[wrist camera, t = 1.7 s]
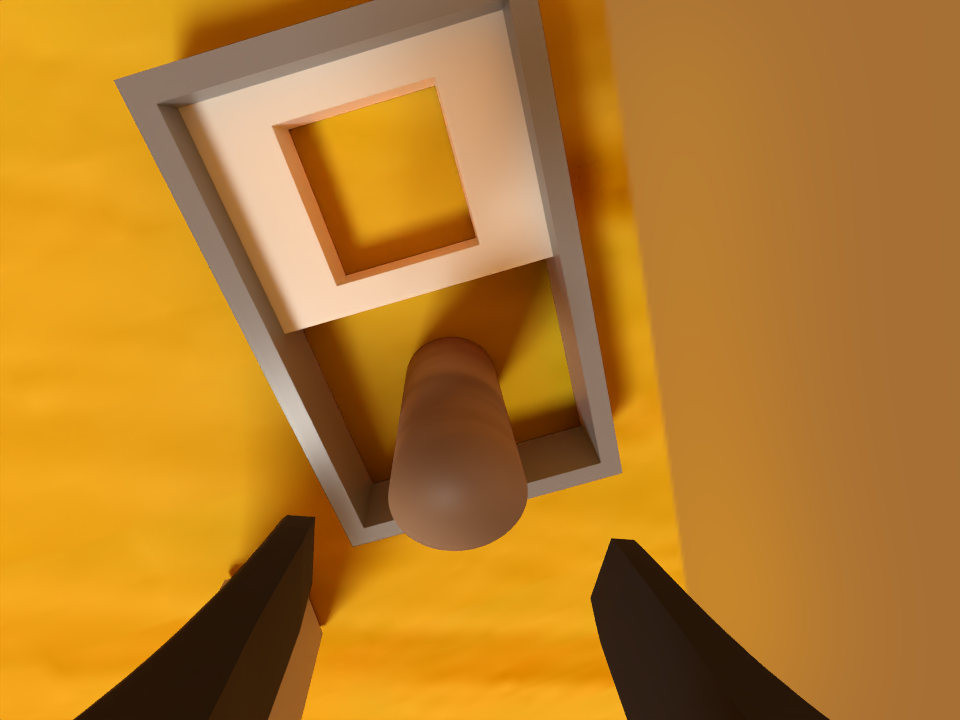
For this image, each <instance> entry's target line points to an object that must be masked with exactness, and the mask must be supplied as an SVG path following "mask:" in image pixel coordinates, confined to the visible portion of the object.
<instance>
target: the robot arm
mask: <svg viewBox="0 0 960 720" xmlns="http://www.w3.org/2000/svg"><path fill="white" fill-rule="evenodd" d="M314 527H315V517H306V516H292V515H287V516H286V517H284V518H283V519H282V520H281V521H280V522H279V523H278V525H277V526H276V527H275V529H274V530H273V531H272V532H271V533H270V535H269V536H268V537H267V538H266V540H265V541H264V542H263V543H262V544H261V545H260V547H259V548H258V549H257V550H256V551H255V552H254V553H253V555H252V556H251V557H250V558H249V559H248V560H247V561H246V563H245V564H244V565H243V566H242V567H241V568H240V569H239V570H238V571H237V572H236V573H235V574H234V576H233V577H232V578H231V579H230V580H229V581H228V582H227V583H226V584H225V585H224V586H223V587H222V588H221V589H220V591H219V592H218V593H217V594H216V595H215V596H214V597H213V598H212V599H211V600H210V601H209V602H208V603H207V604H206V605H205V606H204V607H202V608H201V609H200V610H199V611H198V612H197V613H196V614H195V615H194V616H193V617H192V618H191V619H190V620H189V621H188V622H187V623H186V624H185V625H184V626H183V627H182V628H181V629H180V630H179V631H178V632H177V633H176V634H175V635H174V636H172V637H171V638H170V639H169V640H168V641H167V642H166V643H165V644H164V645H163V646H161V647H160V648H159V649H158V650H157V651H156V652H155V653H154V654H153V655H151V656H150V657H149V658H148V659H147V660H146V661H144V662H143V663H142V664H141V665H140V666H139V667H138V668H136V669H135V670H134V671H133V672H132V673H131V674H129V675H128V676H127V677H126V678H125V679H123V680H122V681H121V682H120V683H119V684H117V685H116V686H115V687H114V688H112V689H111V690H110V691H109V692H107V693H106V694H105V695H104V696H102V697H101V698H100V699H99V700H97V701H96V702H95V703H94V704H93V705H91V706H90V707H89V708H88V709H86V710H85V711H84V712H83V713H81V714H80V715H79V716H77V717H76V718H75V719H74V720H268V718H269V716H270V713H271V710H272V707H273V705H274V702H275V699H276V696H277V694H278V691H279V688H280V685H281V683H282V680H283V677H284V674H285V672H286V669H287V666H288V663H289V660H290V658H291V655H292V652H293V649H294V646H295V644H296V641H297V638H298V635H299V632H300V629H301V625H302V621H303V618H304V614H305V610H306V606H307V602H308V598H309V594H310V590H311V586H312V573H313V550H314ZM591 602H592V607H593V612H594V617H595V622H596V626H597V630H598V634H599V638H600V642H601V645H602V648H603V651H604V654H605V657H606V660H607V663H608V666H609V669H610V672H611V675H612V678H613V680H614V683H615V686H616V689H617V692H618V695H619V697H620V700H621V703H622V706H623V709H624V712H625V714H626V717H627V720H829V719H828V718H827V717H825V716H824V715H823V714H821V713H820V712H819V711H818V710H816V709H815V708H814V707H813V706H811V705H810V704H809V703H807V702H806V701H805V700H804V699H802V698H801V697H800V696H799V695H797V694H796V693H795V692H794V691H793V690H791V689H790V688H789V687H788V686H786V685H785V684H784V683H783V682H782V681H781V680H779V679H778V678H777V677H776V676H774V675H773V674H772V673H771V672H770V671H768V670H767V669H766V668H765V667H763V666H762V664H760V663H759V662H758V661H757V660H756V659H755V658H754V657H752V656H751V655H750V654H749V653H748V652H747V651H746V650H745V649H744V648H743V647H742V646H740V645H739V644H738V643H737V642H736V641H735V640H734V639H733V638H732V637H731V636H729V635H728V634H727V633H726V632H725V631H724V630H723V629H722V628H721V627H720V626H719V625H718V624H717V623H716V622H715V621H714V620H713V619H712V618H711V617H710V616H709V615H707V613H706V612H705V611H704V610H703V609H702V608H701V607H700V606H699V605H698V604H696V602H695V601H694V600H693V599H692V598H691V597H690V596H689V595H688V594H687V593H686V592H685V591H684V590H683V589H682V588H681V587H680V586H679V585H678V584H677V583H676V582H675V581H674V580H673V579H672V578H671V577H670V576H669V575H668V574H667V573H666V572H665V571H664V570H663V568H662V567H661V566H660V565H659V564H658V563H657V562H656V561H655V560H654V559H653V558H652V557H651V556H650V555H649V554H648V553H647V552H646V551H645V550H644V549H643V548H642V547H641V546H640V545H639V544H638V543H637V542H636V541H635V540H627V539H613V538H611V541H610V544H609V547H608V549H607V552H606V555H605V558H604V561H603V564H602V567H601V569H600V572H599V575H598V578H597V581H596V584H595V587H594V589H593V592H592V595H591Z"/></svg>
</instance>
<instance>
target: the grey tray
mask: <svg viewBox="0 0 960 720" xmlns="http://www.w3.org/2000/svg"><path fill="white" fill-rule="evenodd" d="M114 82H115V84H116V86H117V88H118V89H119V91H120V93H121V95H122V97H123V99H124V101H125V103H126V105H127V107H128V109H129V111H130V113H131V115H132V117H133V119H134V121H135V123H136V125H137V127H138V129H139V130H140V132H141V134H142V136H143V138H144V140H145V142H146V144H147V146H148V148H149V150H150V152H151V154H152V156H153V158H154V160H155V162H156V164H157V166H158V168H159V170H160V171H161V173H162V175H163V177H164V179H165V181H166V183H167V185H168V187H169V189H170V191H171V193H172V195H173V197H174V199H175V201H176V203H177V205H178V207H179V209H180V211H181V212H182V214H183V216H184V218H185V220H186V222H187V224H188V226H189V228H190V230H191V232H192V234H193V236H194V238H195V240H196V242H197V244H198V246H199V248H200V250H201V252H202V253H203V255H204V257H205V259H206V261H207V263H208V265H209V267H210V269H211V271H212V273H213V275H214V277H215V279H216V281H217V283H218V285H219V287H220V289H221V291H222V293H223V294H224V296H225V298H226V300H227V302H228V304H229V306H230V308H231V310H232V312H233V314H234V316H235V318H236V320H237V322H238V324H239V326H240V328H241V330H242V332H243V334H244V335H245V337H246V339H247V341H248V343H249V345H250V347H251V349H252V351H253V353H254V355H255V357H256V359H257V361H258V363H259V365H260V367H261V369H262V371H263V373H264V375H265V376H266V378H267V380H268V382H269V384H270V386H271V388H272V390H273V392H274V394H275V396H276V398H277V400H278V402H279V404H280V406H281V408H282V410H283V412H284V414H285V416H286V417H287V419H288V421H289V423H290V425H291V427H292V429H293V431H294V433H295V435H296V437H297V439H298V441H299V443H300V445H301V447H302V449H303V451H304V453H305V455H306V457H307V458H308V460H309V462H310V464H311V466H312V468H313V470H314V472H315V474H316V476H317V478H318V480H319V482H320V484H321V486H322V488H323V490H324V492H325V494H326V496H327V498H328V499H329V501H330V503H331V505H332V507H333V509H334V511H335V513H336V515H337V517H338V519H339V521H340V523H341V525H342V527H343V529H344V531H345V533H346V535H347V537H348V539H349V540H350V542H351V544H352V546H353V547H355V546H359V545H362V544H366V543H369V542H373V541H377V540H380V539H384V538H388V537H391V536H395V535H399V534H402V533H404V532H403V531H402V530H401V529H400V527H399V526H398V525H397V523H396V522H395V520H394V519H393V516H392V514H391V511H390V508H389V502H388V492H389V485H390V479H389V480H385V481H381V482H378V483H374V484H373V483H372V481H371V478H370V476H369V474H368V472H367V470H366V467H365V465H364V463H363V461H362V459H361V456H360V454H359V452H358V450H357V448H356V445H355V443H354V441H353V439H352V437H351V434H350V432H349V430H348V428H347V426H346V423H345V421H344V419H343V417H342V415H341V412H340V410H339V408H338V406H337V404H336V401H335V399H334V397H333V395H332V393H331V390H330V388H329V386H328V384H327V382H326V379H325V377H324V375H323V373H322V371H321V368H320V366H319V364H318V362H317V360H316V357H315V355H314V353H313V351H312V349H311V346H310V344H309V342H308V340H307V338H306V335H305V333H304V331H303V329H304V328H307V327H311V326H314V325H318V324H321V323H325V322H328V321H332V320H335V319H338V318H342V317H345V316H349V315H352V314H356V313H359V312H363V311H366V310H370V309H373V308H377V307H380V306H383V305H387V304H390V303H394V302H397V301H401V300H404V299H408V298H411V297H415V296H418V295H421V294H425V293H428V292H432V291H435V290H439V289H442V288H446V287H449V286H453V285H456V284H460V283H463V282H466V281H470V280H473V279H477V278H480V277H484V276H487V275H491V274H494V273H498V272H501V271H505V270H508V269H511V268H515V267H518V266H522V265H525V264H529V263H532V262H536V261H539V260H543V259H545V260H546V265H547V270H548V275H549V279H550V284H551V289H552V293H553V298H554V303H555V308H556V312H557V317H558V322H559V326H560V331H561V336H562V340H563V345H564V350H565V355H566V359H567V364H568V369H569V373H570V378H571V383H572V388H573V392H574V397H575V402H576V406H577V411H578V416H579V420H580V425H581V426H579V427H575V428H572V429H568V430H565V431H561V432H557V433H554V434H550V435H547V436H543V437H539V438H536V439H532V440H529V441H525V442H521V443H518V444H516V445H517V449H518V452H519V456H520V460H521V463H522V467H523V470H524V474H525V477H526V481H527V487H528V497H527V499H529V498H533V497H537V496H540V495H544V494H548V493H551V492H555V491H559V490H562V489H566V488H569V487H573V486H577V485H580V484H584V483H588V482H591V481H595V480H598V479H602V478H606V477H609V476H613V475H617V474H620V473H622V469H621V463H620V457H619V452H618V446H617V440H616V435H615V429H614V424H613V418H612V412H611V407H610V401H609V396H608V390H607V384H606V379H605V373H604V367H603V362H602V356H601V351H600V345H599V339H598V334H597V328H596V323H595V317H594V311H593V306H592V300H591V294H590V289H589V283H588V278H587V272H586V266H585V261H584V255H583V250H582V244H581V238H580V233H579V227H578V221H577V216H576V210H575V205H574V199H573V193H572V188H571V182H570V176H569V171H568V165H567V160H566V154H565V148H564V143H563V137H562V132H561V126H560V120H559V115H558V109H557V103H556V98H555V92H554V87H553V81H552V75H551V70H550V64H549V59H548V53H547V47H546V42H545V36H544V30H543V25H542V19H541V14H540V8H539V2H538V0H374V1H370V2H367V3H364V4H361V5H357V6H354V7H351V8H348V9H344V10H341V11H338V12H334V13H331V14H328V15H325V16H321V17H318V18H315V19H312V20H308V21H305V22H302V23H299V24H295V25H292V26H289V27H286V28H282V29H279V30H276V31H273V32H269V33H266V34H263V35H260V36H256V37H253V38H250V39H247V40H243V41H240V42H237V43H234V44H230V45H227V46H224V47H221V48H217V49H214V50H211V51H208V52H204V53H201V54H198V55H195V56H191V57H188V58H185V59H182V60H178V61H175V62H172V63H169V64H165V65H162V66H159V67H156V68H152V69H149V70H146V71H143V72H139V73H136V74H133V75H130V76H126V77H123V78H120V79H117V80H114ZM432 86H435V87H436V91H437V94H438V98H439V102H440V106H441V109H442V113H443V117H444V121H445V124H446V128H447V132H448V135H449V139H450V143H451V147H452V150H453V154H454V158H455V162H456V165H457V169H458V173H459V176H460V180H461V184H462V188H463V191H464V195H465V199H466V202H467V206H468V210H469V214H470V217H471V221H472V225H473V229H474V232H475V236H476V238H473V239H470V240H466V241H463V242H460V243H456V244H453V245H449V246H446V247H442V248H439V249H436V250H432V251H429V252H425V253H422V254H418V255H415V256H412V257H408V258H405V259H401V260H398V261H394V262H391V263H388V264H384V265H381V266H377V267H374V268H370V269H367V270H364V271H360V272H357V273H353V274H350V275H345V272H344V270H343V267H342V265H341V262H340V260H339V257H338V255H337V252H336V249H335V247H334V244H333V242H332V239H331V237H330V234H329V232H328V229H327V227H326V224H325V222H324V219H323V216H322V214H321V211H320V209H319V206H318V204H317V201H316V199H315V196H314V194H313V191H312V189H311V186H310V183H309V181H308V178H307V176H306V173H305V171H304V168H303V166H302V163H301V161H300V158H299V156H298V153H297V150H296V148H295V145H294V143H293V140H292V138H291V135H290V133H289V129H293V128H296V127H299V126H302V125H306V124H309V123H312V122H316V121H319V120H322V119H326V118H329V117H332V116H336V115H339V114H342V113H346V112H349V111H352V110H356V109H359V108H362V107H366V106H369V105H372V104H376V103H379V102H382V101H385V100H389V99H392V98H395V97H399V96H402V95H405V94H409V93H412V92H415V91H419V90H422V89H425V88H429V87H432Z"/></svg>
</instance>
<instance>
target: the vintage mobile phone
mask: <svg viewBox="0 0 960 720" xmlns="http://www.w3.org/2000/svg"><path fill="white" fill-rule="evenodd" d="M229 580H230V579H228V580H225V581H224V583H223V585H222V587H223V586H224V585H225V584H226V583H227V582H228V581H229ZM222 587H221V588H222ZM321 637H322V630H321V628H320V625H319V623H318V620H317V618H316V615H315V612H314V610H313V607H312V605H311V602H310V600H309V598H308V602H307V606H306V610H305V614H304V618H303V621H302V625H301V629H300V632H299V635H298V638H297V641H296V644H295V646H294V649H293V652H292V655H291V658H290V660H289V663H288V666H287V669H286V672H285V674H284V677H283V680H282V683H281V685H280V688H279V691H278V694H277V696H276V699H275V702H274V705H273V707H272V710H271V713H270V716H269V718H268V720H301V719H302V714H303V710H304V706H305V702H306V698H307V694H308V690H309V686H310V682H311V678H312V674H313V670H314V666H315V662H316V658H317V654H318V650H319V646H320V642H321Z"/></svg>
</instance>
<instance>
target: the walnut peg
mask: <svg viewBox="0 0 960 720" xmlns="http://www.w3.org/2000/svg"><path fill="white" fill-rule="evenodd" d="M527 497H528V487H527V481H526V477H525V474H524V470H523V467H522V463H521V460H520V456H519V452H518V449H517V445H516V442H515V438H514V435H513V431H512V428H511V424H510V421H509V417H508V414H507V410H506V407H505V403H504V400H503V396H502V392H501V389H500V385H499V382H498V378H497V375H496V371H495V368H494V364H493V362H492V360H491V358H490V357H489V355H488V354H487V353H486V352H485V350H483V349H482V348H481V347H480V346H479V345H477V344H476V343H474V342H472V341H469V340H466V339H463V338H457V337H446V338H440V339H437V340H434V341H431V342H429V343H428V344H426V345H424V346H423V347H422V348H420V349H419V350H418V351H417V352H416V353H415V355H414V356H413V357H412V359H411V361H410V363H409V365H408V368H407V372H406V379H405V385H404V392H403V399H402V405H401V412H400V418H399V425H398V432H397V438H396V445H395V451H394V458H393V465H392V471H391V478H390V485H389V492H388V502H389V508H390V511H391V514H392V516H393V519H394V520H395V522H396V523H397V525H398V526H399V527H400V529H401V530H402V531H403V532H404V533H405V534H407V535H408V536H409V537H410V538H412V539H413V540H415V541H417V542H419V543H421V544H423V545H425V546H428V547H431V548H435V549H439V550H447V551H462V550H469V549H475V548H478V547H482V546H484V545H487V544H489V543H491V542H493V541H495V540H497V539H499V538H500V537H502V536H503V535H505V534H506V533H507V532H508V531H509V530H510V529H511V528H512V527H513V526H514V525H515V524H516V523H517V521H518V520H519V519H520V517H521V515H522V513H523V511H524V509H525V506H526V502H527Z"/></svg>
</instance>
